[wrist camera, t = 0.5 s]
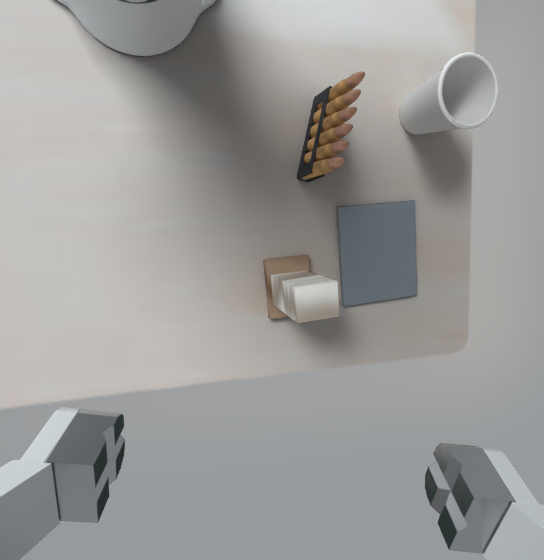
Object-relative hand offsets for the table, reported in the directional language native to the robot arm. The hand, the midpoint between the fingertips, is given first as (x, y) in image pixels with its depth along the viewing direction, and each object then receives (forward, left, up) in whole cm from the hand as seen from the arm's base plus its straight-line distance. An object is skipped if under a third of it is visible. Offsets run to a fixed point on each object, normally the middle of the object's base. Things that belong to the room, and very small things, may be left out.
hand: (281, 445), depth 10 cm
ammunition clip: (-15, +18, -41) cm, 47 cm away
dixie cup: (-18, +34, -41) cm, 56 cm away
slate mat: (+1, +27, -41) cm, 49 cm away
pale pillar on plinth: (+4, +13, -41) cm, 43 cm away
